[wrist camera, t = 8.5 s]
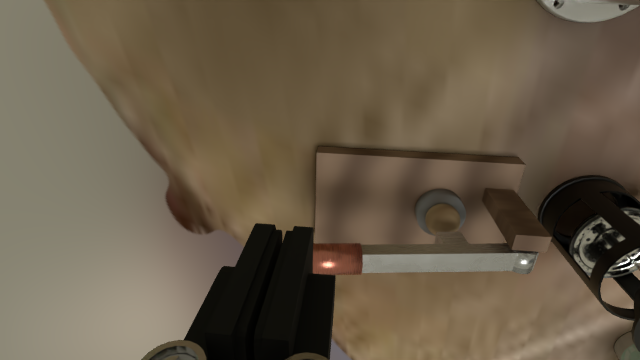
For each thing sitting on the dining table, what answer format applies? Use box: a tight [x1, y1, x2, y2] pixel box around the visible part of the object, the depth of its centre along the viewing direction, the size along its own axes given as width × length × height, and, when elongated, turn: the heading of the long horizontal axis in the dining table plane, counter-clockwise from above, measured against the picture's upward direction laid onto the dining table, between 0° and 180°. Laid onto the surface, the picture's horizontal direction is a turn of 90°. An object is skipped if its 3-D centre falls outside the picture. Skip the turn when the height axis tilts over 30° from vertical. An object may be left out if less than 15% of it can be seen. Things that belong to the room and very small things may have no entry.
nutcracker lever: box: [313, 232, 538, 275], centre depth 35 cm, size 22×3×4 cm, turn 89°
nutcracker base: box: [315, 146, 552, 252], centre depth 39 cm, size 22×12×11 cm, turn 89°
